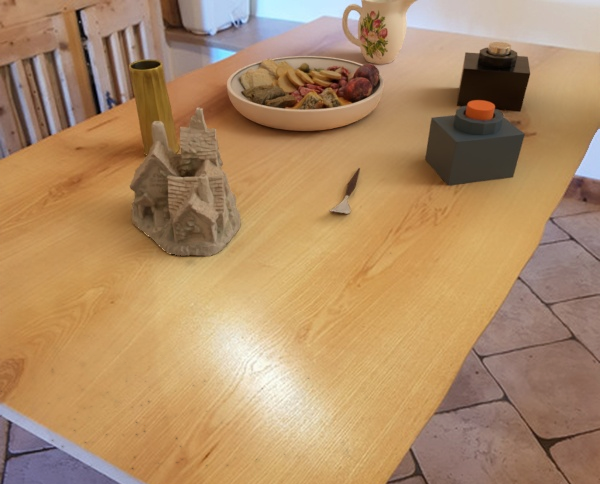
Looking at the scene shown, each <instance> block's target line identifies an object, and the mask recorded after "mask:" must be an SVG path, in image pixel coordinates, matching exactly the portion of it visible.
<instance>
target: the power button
mask: <svg viewBox="0 0 600 484" xmlns="http://www.w3.org/2000/svg"><path fill="white" fill-rule="evenodd" d="M488 47H489V48H488ZM488 47H487V48H488V53H487V54H489V55H493V56H501V57H503V56H509V54H510V49H511V50H512V45H511V44H510V43H507V42H504V41H492V42H490V43H489V44H488Z"/></svg>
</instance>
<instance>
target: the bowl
mask: <svg viewBox="0 0 600 484" xmlns="http://www.w3.org/2000/svg"><path fill="white" fill-rule="evenodd" d="M384 85H385V83H384V79H383V77H382V75H381V74H380V70H379V69H378V67H377V66H375V64H372V63H366V64H362V63H360V62H356V61H353V60H349V59H344V58H338V57H333V56H320V55H298V56H297V55H295V56H293V55H292V56H282V57H275V58H267V59H264V60H260V61H256V62H253V63H250V64H248V65H245V66H243V67H241V68H239V69H237V70H236V71H234V72H233V73H232V74H231V75H230V76H228V79H227V81H226V91H227V96H228V98H229V101H230V103H231V105H232V106H233V107H234V109H235V110H236V111H237V112H238V113H239V114H240V115H242V116H243V117H245V118H246V119H248V120H250V121H251V122H253V123H256V124H259V125H260V126H261V125H262V126H264V127H268V128H273V129H277V130H285V131H292V132H293V131H296V132H297V131H298V132H313V131H314V132H315V131H325V130H331V129H336V128H342V127H345V126H348V125H351V124H353V123H356V122H358V121H360V120H362V119H364V118H365V117H366V116H368V115H370V113H372V112H373V111H374V110H375V109H376V108H377V106H378V104H380V101H381V99H382V96H383V92H384Z"/></svg>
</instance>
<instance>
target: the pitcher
mask: <svg viewBox="0 0 600 484" xmlns="http://www.w3.org/2000/svg"><path fill="white" fill-rule="evenodd" d="M415 2H418V0H361V5H359V4H357V3H351V4H349V5H347V7H346V8H345V9H344V10H343V13H342V18H341V25H342V31H343V34H344V36H345V37H346V39H347V41H349V42H350V43H351V44H353V45H355V46H357V47H359V49H360V52H361V54H362V56H363V58H364V59H365V61H366V62H368V63H369V64H373V65H375V64H376V65H385V64H391V63H393V62H394V60H395V59H396V58H397V57H398V55H399V53H400V51H401V49H402V47H403V44H404V42H405V38H406V32H407V23H408V19H407V13H408V11H409V9H410V7H411V6H412V5H413V4H414V3H415ZM352 11H355V12H356V13H358V15H359V18H358V23H357V37H355V36H354V35H353V33H352V32H351V31H350V29H349V25H348V20H349V15H350V13H351V12H352Z"/></svg>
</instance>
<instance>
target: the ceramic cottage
mask: <svg viewBox="0 0 600 484" xmlns="http://www.w3.org/2000/svg"><path fill="white" fill-rule="evenodd" d="M152 138H153V143H154V144H153V145H152V147H151V148H150V151H149V154H148V155H145V157H144V159H143V161H142V162H141V163H140V164H139V166H138V167H137V168H136V169H135V170H134V174H133V178H132V179H131V182H130V184H129V188H130V190H131V191H133V192H134V198H133V200H132V201H133V202H131V210H130V211H131V218H132V219H131V221H132V220H133V222H132V224H133V223H134V224H135V225H136V226H137V227H139V228H138V229H139V230H140V229H141V230H142V231H144V232H145V233H146V234H147V235H149V237H151V238H152V239H153V240H154V241H155V242H156V243H157V244H158V245H160V247H161V248H163V249H164V250H165V251H167V252H168V253H167V252H166V253H167V254H169V253H171V254H175V255H174V256H176V255H177V256H180V255H181V256H180V257H183V256H184V257H186V256H187V257H189V256H190V255H191V256H198V257H199V256H203V257H208V256H209V257H211V255H213V256H214V255H216V254H219V253H220V252H221V251H223V250H224V248H225V247H227V244H229V243H230V241H231V240H232V239H233V237H234V236H235V235H237V233H238V232H239V229H240V227H241V225H242V222H241V221H242V220H241V213H240V212H241V211H240V210H239V209H238V207H237V197H236V195H235V194H234V192H233V191H232V189H231V187H230V185H229V178H228V176H227V174H226V172H225V171H224V170H223V168H222V167H223V165H224V162H223V160H222V158H221V152H220V147H219V143H218V136H217V128H216V127H212V128H208V126H207V123H206V121H205V116H204V108H202V107H199V106H197V107H196V108H195V114H194V115H192V116H191V117H190V119H189V124H188V126H180V127H179V148H180V153H175V152H174V151H173V150H172V149H171V148H168V141H167V136H166V131H165V128H164V124H163V123H162V122H161V121H154V122H153V123H152ZM134 224H133V225H134ZM135 225H134V226H135ZM136 226H135V227H136ZM137 227H136V228H137ZM141 230H140V231H141ZM142 231H141V232H142ZM147 235H146V236H147ZM151 238H150V239H151ZM153 240H152V241H153ZM154 241H153V242H154ZM155 242H154V243H155ZM156 243H155V244H156ZM157 244H156V245H157ZM158 245H157V246H158ZM160 247H159V248H160ZM161 248H160V249H161ZM171 254H170V255H171Z"/></svg>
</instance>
